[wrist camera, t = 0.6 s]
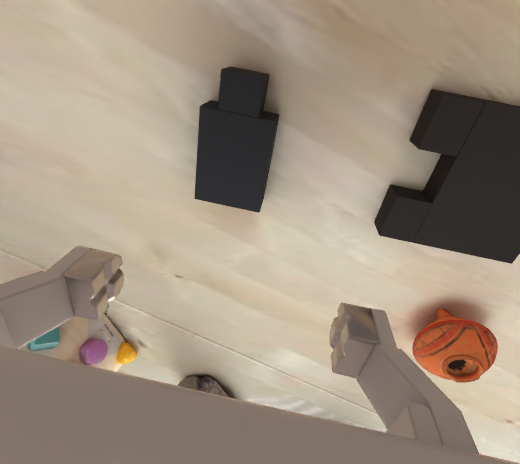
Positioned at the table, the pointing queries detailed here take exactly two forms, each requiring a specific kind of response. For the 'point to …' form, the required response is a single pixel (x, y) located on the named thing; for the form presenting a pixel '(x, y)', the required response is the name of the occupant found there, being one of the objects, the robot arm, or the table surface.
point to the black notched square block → (462, 180)
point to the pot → (455, 348)
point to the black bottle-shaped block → (236, 142)
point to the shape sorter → (85, 344)
